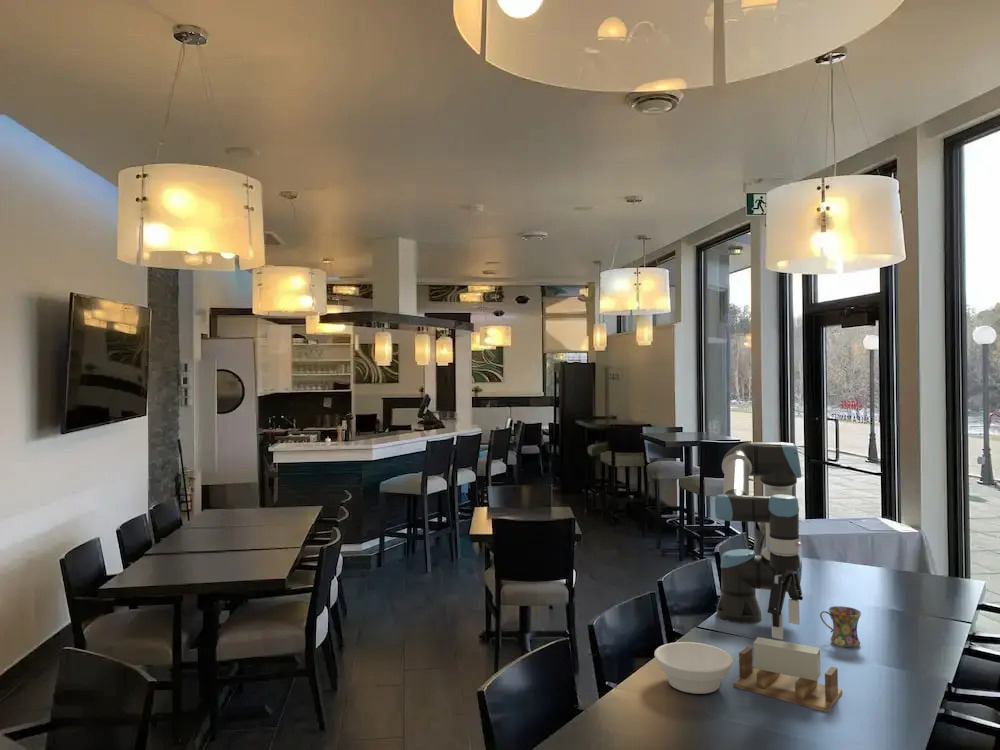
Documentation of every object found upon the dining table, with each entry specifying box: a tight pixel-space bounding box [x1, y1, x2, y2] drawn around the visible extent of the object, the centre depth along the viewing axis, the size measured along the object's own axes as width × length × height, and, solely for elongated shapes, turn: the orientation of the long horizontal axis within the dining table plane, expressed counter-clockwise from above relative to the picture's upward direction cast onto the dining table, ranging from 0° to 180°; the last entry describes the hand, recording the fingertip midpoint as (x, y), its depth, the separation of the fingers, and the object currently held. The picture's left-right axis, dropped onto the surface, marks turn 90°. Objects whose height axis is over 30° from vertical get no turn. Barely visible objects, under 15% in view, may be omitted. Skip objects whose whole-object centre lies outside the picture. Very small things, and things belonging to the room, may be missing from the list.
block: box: [753, 636, 822, 682], centre depth 186 cm, size 16×5×7 cm, turn 57°
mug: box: [819, 605, 862, 648], centre depth 219 cm, size 12×9×11 cm
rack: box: [733, 646, 843, 713], centre depth 186 cm, size 24×14×8 cm, turn 49°
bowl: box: [654, 641, 734, 694], centre depth 190 cm, size 21×21×8 cm
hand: (786, 630), depth 187 cm, fingers open, 13 cm apart
